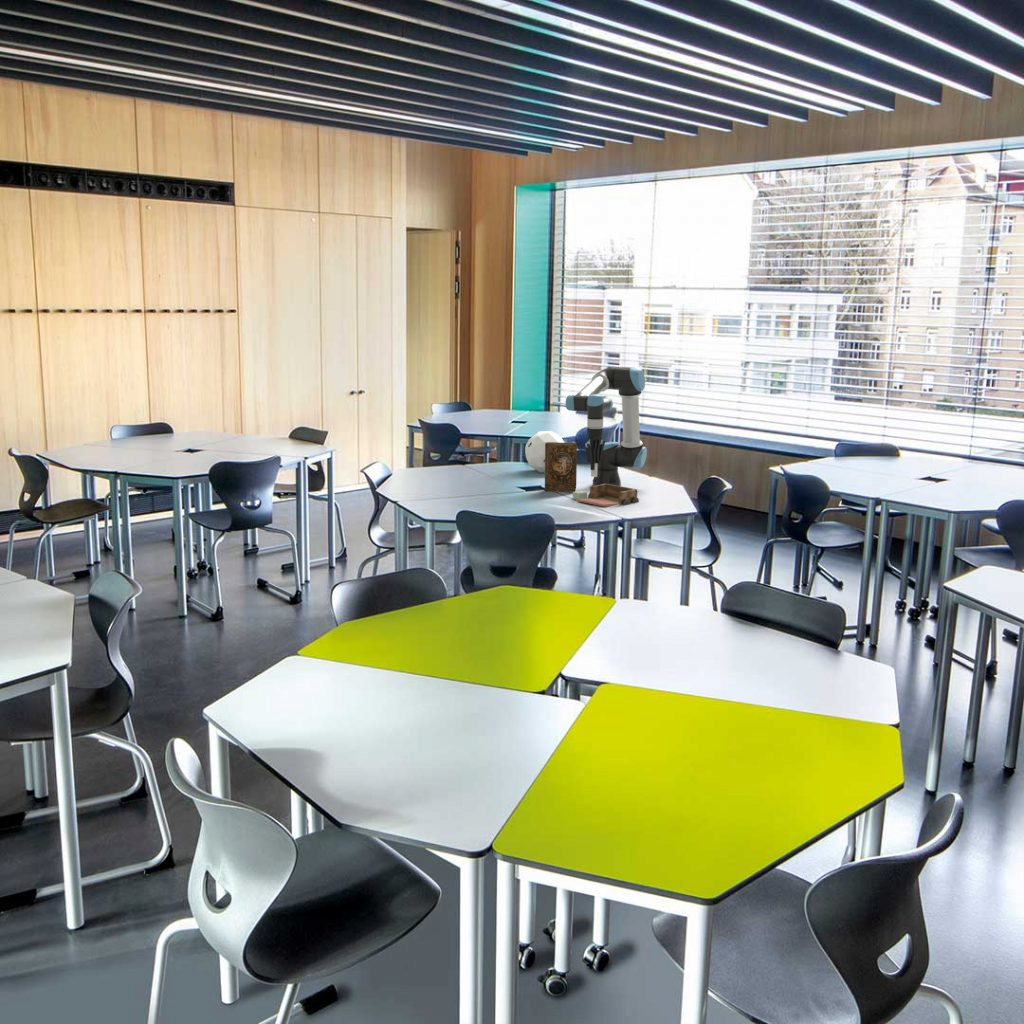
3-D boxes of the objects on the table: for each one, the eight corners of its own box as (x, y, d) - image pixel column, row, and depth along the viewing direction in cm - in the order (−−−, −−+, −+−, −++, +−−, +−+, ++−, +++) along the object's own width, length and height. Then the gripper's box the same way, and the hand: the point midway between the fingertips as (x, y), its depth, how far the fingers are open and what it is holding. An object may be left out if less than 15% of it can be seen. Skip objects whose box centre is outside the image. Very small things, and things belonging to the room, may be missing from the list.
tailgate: (590, 498, 487) (577, 499, 480) (617, 503, 475) (604, 504, 468) (590, 500, 487) (577, 501, 480) (617, 506, 475) (603, 507, 468)
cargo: (579, 500, 492) (579, 490, 491) (587, 502, 488) (587, 492, 487) (572, 501, 488) (572, 492, 487) (580, 503, 485) (580, 493, 484)
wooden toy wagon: (603, 497, 498) (603, 483, 497) (639, 504, 482) (639, 489, 480) (587, 501, 490) (587, 486, 488) (623, 508, 474) (624, 492, 472)
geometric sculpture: (543, 466, 588) (568, 434, 581) (555, 488, 568) (581, 455, 561) (511, 448, 576) (536, 415, 568) (522, 469, 556) (548, 436, 548)
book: (544, 491, 513) (544, 443, 508) (544, 489, 518) (545, 442, 513) (575, 492, 511) (576, 444, 506) (576, 490, 517) (577, 442, 511)
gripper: (598, 425, 474) (597, 473, 480) (579, 428, 466) (579, 477, 471) (610, 427, 469) (608, 475, 475) (591, 429, 460) (591, 479, 466)
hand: (594, 476), depth 473 cm, fingers closed
